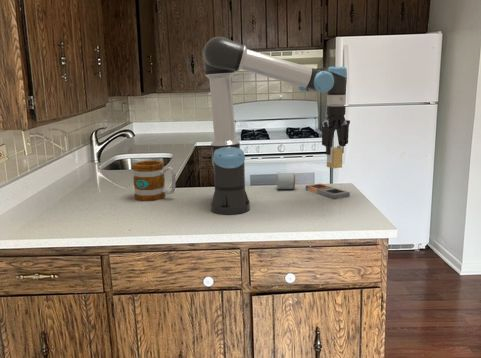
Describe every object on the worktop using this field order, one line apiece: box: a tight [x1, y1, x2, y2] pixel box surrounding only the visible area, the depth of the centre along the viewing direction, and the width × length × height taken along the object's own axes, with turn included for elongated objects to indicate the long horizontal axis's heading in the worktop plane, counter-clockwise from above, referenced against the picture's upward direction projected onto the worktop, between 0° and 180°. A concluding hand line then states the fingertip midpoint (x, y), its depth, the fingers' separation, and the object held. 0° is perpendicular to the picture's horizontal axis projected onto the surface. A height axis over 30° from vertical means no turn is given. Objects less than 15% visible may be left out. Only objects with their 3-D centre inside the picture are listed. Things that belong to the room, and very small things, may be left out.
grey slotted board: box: [305, 183, 351, 200], centre depth 202 cm, size 8×20×2 cm, turn 28°
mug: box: [131, 160, 176, 202], centre depth 199 cm, size 20×14×15 cm
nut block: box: [326, 146, 344, 169], centre depth 194 cm, size 4×4×8 cm
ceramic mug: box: [276, 172, 296, 190], centre depth 212 cm, size 11×8×8 cm
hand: (334, 161), depth 195 cm, fingers closed on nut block, 4 cm apart
